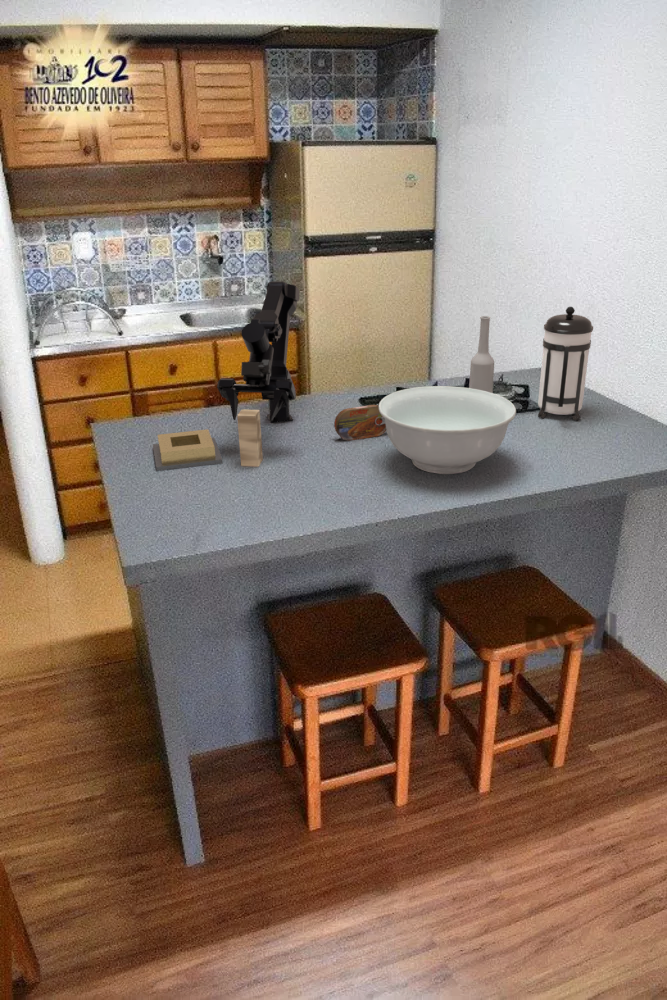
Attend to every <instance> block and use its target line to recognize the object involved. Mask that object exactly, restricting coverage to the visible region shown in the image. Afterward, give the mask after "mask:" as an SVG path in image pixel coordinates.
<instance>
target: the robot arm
mask: <svg viewBox="0 0 667 1000" xmlns="http://www.w3.org/2000/svg"><path fill="white" fill-rule="evenodd" d="M299 301H300V289H299V287H297V285H295V284H291V283H290V284H289V283H287V282H286V281H284V280H283V281H282V280H281V281H280V280H278V281H275V280H273V281H269V282H267V285H266V294H265V298H264V301H263V304H262V307H261V310H260V312H258V313H257V314H255V315H254V316H253V318H251V319H250V322H249V323H247V324H245V325H244V327H243V328H242V329H241V338H242V340H243V342H244V344H245V347H246V350H247V351H248V352H250V353H249V358H248V359H249V360H248V361H242V362H241V368H240V369H241V370H240V373H241V374H240V375H241V377H242V380H243V382H245V383H237V381H236V380H235V378H223V377H221V378H220V379H219V380H218V381H217V385H216V388H217V390H218V392H219V393H220V395H221V397H222V398H224V399H225V400H226V401H228V402H229V406H230V411H231V414H232V419H233V421H236V419H237V415H238V405H239V398H238V396H239V393H261V399H262V401H264V400H266V401H267V400H268V412H269V414H266V418H267V420H268V421H269V422H270V423H271V424H272V423H273V424H274V423H275V424H276V423H284V422H293V421H294V419H293V417H292V415H291V413H290V412H291V411H290V401H293V400H296V398H297V396H296V395H297V394H296V387H295V385H294V382H293V380H292V375H291V373H290V371H289V370H288V368H287V359H288V347H289V346H288V345H289V336H290V335H289V334H290V333H289V332H290V321H291V317H292V316H293V315H294V313H295V312H296V310H297V307H298V306H297V305H298V302H299Z"/></svg>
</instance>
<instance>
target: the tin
mask: <svg viewBox="0 0 667 1000" xmlns="http://www.w3.org/2000/svg"><path fill="white" fill-rule="evenodd" d="M333 426H334V430H335V432H336V435H338V436H339V437H340V438H341V439H343V440H344V441H348V442H349V441H350V442H351V441H357V440H359V441H360V440H364V439H370V438H371V439H372V438H377V437H380V436H382V435H383V434H384V433H386V432H387V429H386V424H385V419H384V417H383V416H382V415H381V414H380V412H379V404H378V405H377V404H369V405H363V406H355V407H348V408H344V409H342V410H341V411H339V412H338V414H336V416H335V418H334V425H333Z"/></svg>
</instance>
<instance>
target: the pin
mask: <svg viewBox="0 0 667 1000" xmlns="http://www.w3.org/2000/svg"><path fill="white" fill-rule="evenodd" d="M236 419H237V429H238V430H237V431H238V441H239V442H238V443H239V444H238V445H239V456H240V457H239V458H240V467H255V468H256V467H258V468H259V467H260V465H261V464H262V463H263V460H264V456H263V441H262V430H261V428H262V427H261V411H260V409H241V410H240V411H239V412H238V413H237V416H236Z"/></svg>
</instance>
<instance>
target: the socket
mask: <svg viewBox="0 0 667 1000" xmlns="http://www.w3.org/2000/svg"><path fill="white" fill-rule="evenodd" d="M157 440H158V441H157V442H158V443H154V444H152V448H153V455H154V456H155V457H154V462H155V467H156V468H155V469H156V471H157V470H160V471H166V469H169V470H174V469H176V468H177V469H184V468H185V467H186V468H193V467H203V466H210V465H218V464H220V465H221V464H223V458H222V454H221V451H220V449H219V446H218V444H217V441H216V438H215V437H212V435H211V433H210V430H209V429H197V430H190V431H189V430H188V431H181V432H179V431H178V432H170V433H163V434H160V433H159V434H157ZM186 468H185V469H186ZM164 469H165V470H164Z"/></svg>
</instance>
